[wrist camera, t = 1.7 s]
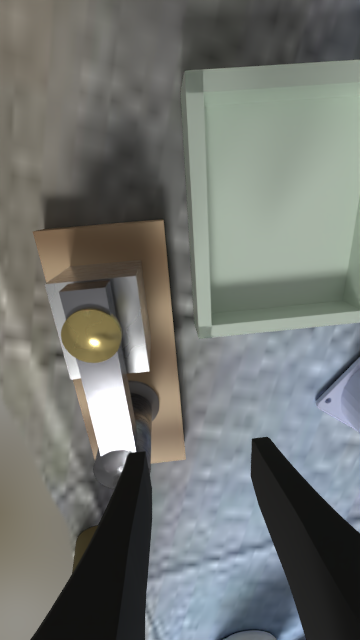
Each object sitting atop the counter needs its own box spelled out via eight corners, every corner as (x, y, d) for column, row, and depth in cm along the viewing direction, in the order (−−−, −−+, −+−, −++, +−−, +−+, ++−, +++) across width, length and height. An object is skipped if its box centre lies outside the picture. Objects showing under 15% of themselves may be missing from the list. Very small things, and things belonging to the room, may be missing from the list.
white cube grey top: (151, 338, 18) (149, 371, 14) (88, 344, 18) (70, 379, 14) (140, 259, 16) (135, 275, 12) (69, 266, 16) (44, 284, 12)
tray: (347, 307, 20) (372, 321, 17) (194, 323, 19) (199, 338, 17) (387, 77, 15) (428, 55, 12) (180, 91, 14) (184, 70, 12)
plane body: (183, 443, 24) (186, 462, 22) (101, 453, 23) (96, 473, 22) (162, 219, 16) (163, 221, 15) (44, 229, 16) (30, 232, 14)
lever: (154, 425, 20) (153, 489, 15) (111, 430, 19) (98, 496, 15) (131, 263, 15) (119, 287, 11) (75, 268, 15) (41, 294, 11)
